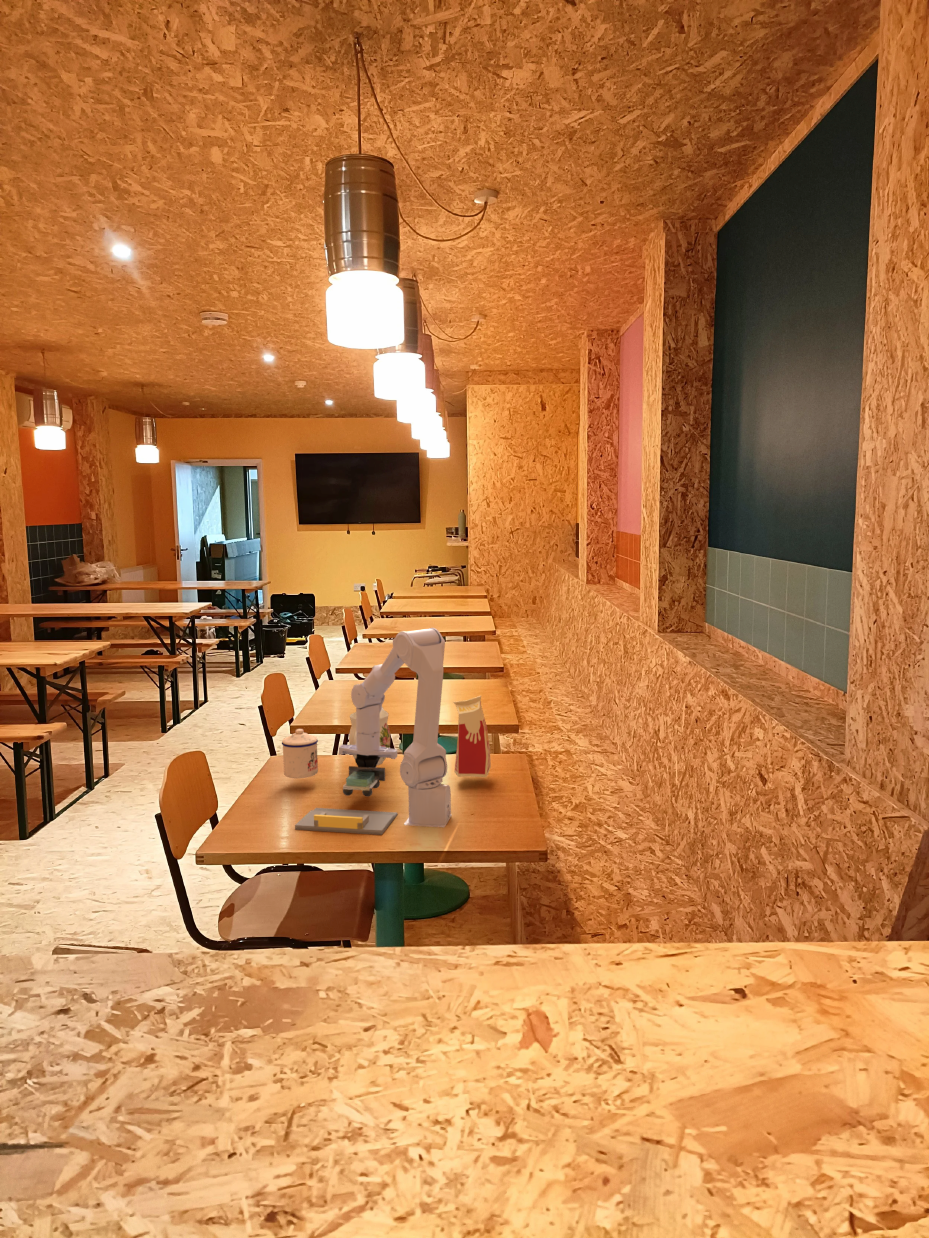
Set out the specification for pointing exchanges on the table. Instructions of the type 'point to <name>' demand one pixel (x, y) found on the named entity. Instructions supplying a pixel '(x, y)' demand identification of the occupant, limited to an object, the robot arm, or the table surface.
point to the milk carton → (472, 740)
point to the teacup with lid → (300, 755)
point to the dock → (346, 821)
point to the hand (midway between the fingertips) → (368, 783)
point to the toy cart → (363, 779)
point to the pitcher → (383, 732)
